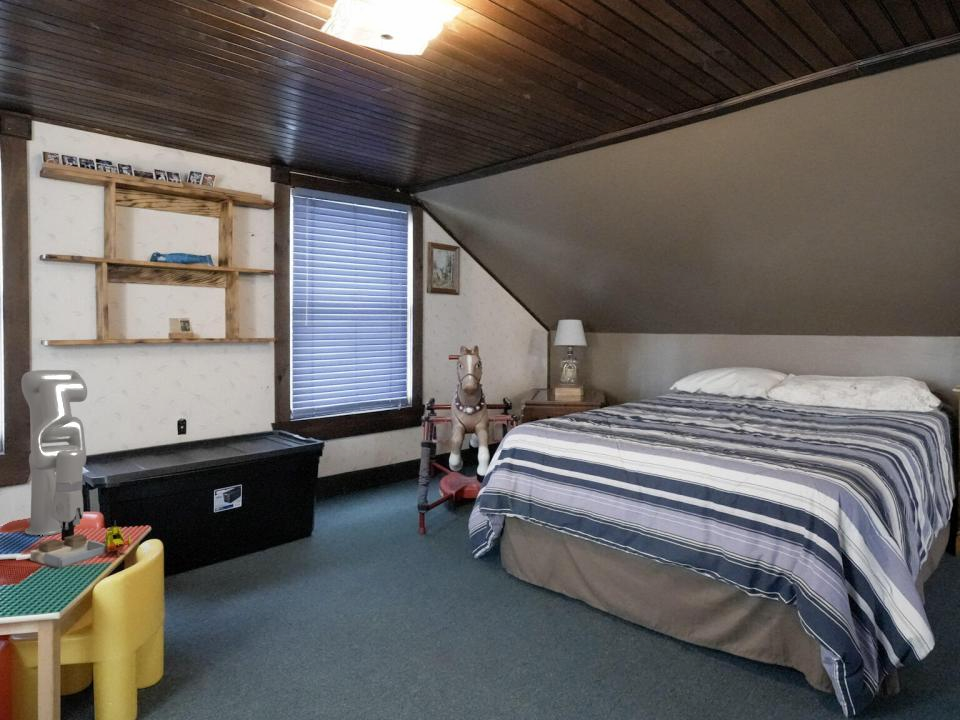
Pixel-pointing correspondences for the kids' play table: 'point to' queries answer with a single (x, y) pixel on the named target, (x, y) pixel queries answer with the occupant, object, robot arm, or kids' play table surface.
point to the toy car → (115, 539)
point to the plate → (57, 552)
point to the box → (75, 555)
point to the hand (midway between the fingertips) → (67, 539)
